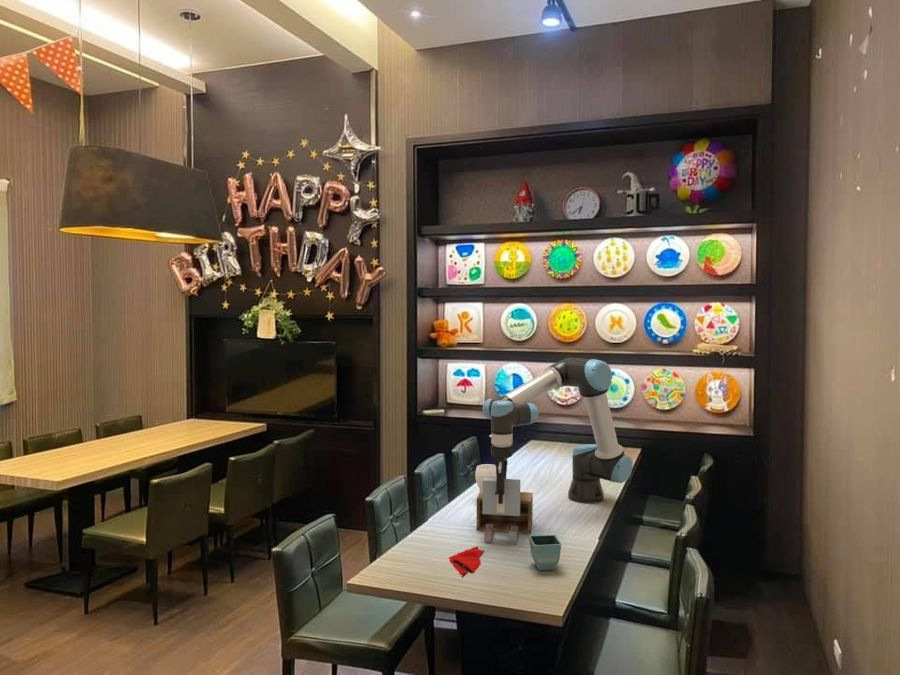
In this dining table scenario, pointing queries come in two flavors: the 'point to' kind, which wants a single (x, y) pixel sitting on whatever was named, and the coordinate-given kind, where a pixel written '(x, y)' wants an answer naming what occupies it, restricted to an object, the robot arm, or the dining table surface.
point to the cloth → (467, 560)
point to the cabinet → (507, 516)
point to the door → (510, 497)
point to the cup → (484, 473)
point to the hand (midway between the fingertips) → (501, 510)
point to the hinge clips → (490, 532)
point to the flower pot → (545, 551)
